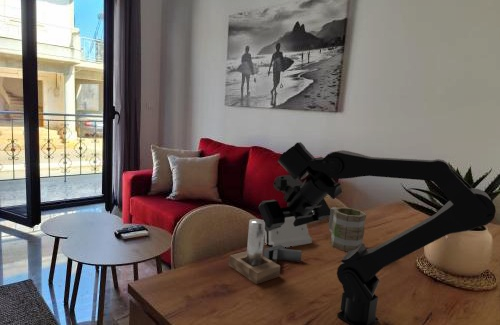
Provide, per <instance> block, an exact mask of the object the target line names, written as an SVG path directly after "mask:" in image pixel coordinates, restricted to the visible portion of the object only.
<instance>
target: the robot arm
mask: <svg viewBox="0 0 500 325" xmlns="http://www.w3.org/2000/svg"><path fill="white" fill-rule="evenodd" d="M277 162H278V163H279V165H280V166H281V167H283V169H284V170H285V172H287V173H288V174H285V175H279V176H277V177H276V178H275V179H274V181H273V183H272V185H273V187H274V189H275V190H276V191H277V192H282V193H283V194H284V196H283V197H282V198H283V200H284V201H285V203H287V204H286V207H281V206H280V204H279V201H278V200H275V199H270V200H262V201H261V202H260V203H259V205H258V210H259V211H258V212H259V214H260V216H261V218H262V220H264V222H265V231H266V232H268V231H271V230H274V229H277V228H280V227H281V225H283V224H284V223H285V218H290V217H295V221H294V223H293V224H294V226H295V227H296V226H300V225H304V224H307V225H308V224H312V223H315V222H319V221H322V220H326V219H328V218H330V210H331V208H330V207H329V205H328V203H327V201H326V200H325V198H326V196H329V197H330V198H331V199H333V200H335V199H336V198H338V197H339V196H340V195H341V194H343V189H342V187H341V183H340V182H336V181H335V180H345V179H355V178H361V177H380V178H388V179H389V178H392V179H403V180H417V181H430V182H433V184H434V185H435V186H436V187H437V188H438V189H439V190H440V191H441V192H442V193H443V195H444V196H445V197H446V198H447V199H448V201H447V202H446V203H445V204H444V205H443V206H442V207H441V208H440V209H438V211H437V212H436V213H435V214H433V215H430V216H429V217H426V219H424V220H422V221H420V222H419V223H417V224H415V225H413V226H411V227H409V228H408V229H406V230H404V231H402V232H400V233H399V234H396V235H395V236H393V237H391V238H388V240H385V241H384V242H383V243H380V244H378V245H377V246H374V247H370V248H366V246H365V244H364V243H362V244H361V245H360V246H359V247H358V248H357V249H355V250H350V251H347V253H346V254H345V255H344V256H343V258H342V259H341V260H340V262H341V263H340V264H339V266H338V267H337V269H336V275H337V279H338V282H339V283H340V284H341V286H342V288H343V292H342V293H341V300H340V309H339V310H340V311H339V312H337V313H336V317H337V318H339V319H341V320H343V321H344V322H346V323H347V324H349V325H376V324H377V323H379V322H380V319H379V318H378V317H376V314H377V306H378V300H379V296H377V294H375V293H376V291H377V288H378V286H379V283H380V282H381V281H380V278H378V276H377V274H378V273H379V272H380V271H381V270H382V269H384V268H385V267H387V266H389V265H391V264H393V263H395V262H397V261H399V260H401V259H402V258H404V257H406V256H409V255H411V254H413V253H414V252H416V251H419V250H420V249H422V248H424V247H427V246H428V245H430V244H432V243H434V242H436V241H438V240H440V239H441V238H443V237H446V236H447V235H448V236H449V235H451V234H458V233H464V232H468V231H472V230H474V229H475V230H476V229H477V228H480V227H484V226H487V225H489V224H490V223H492V222H493V220H494V219H495V217H496V211H497V210H496V205H495V204H494V202H493V200H492V199H491V197H490V196H489V194H488V193H487V192H485V191H484V190H482V189H480V188H473V187H472V186H471V185H470V184H469V183H468V182H467V181H466V180H465V179H463V177H462V176H460V174H458V173H457V172H456V171H455V170H454V169H452V168H451V166H450V164H449V163H448V162H447V161H445V160H444V159H440V158H439V159H437V158H436V159H431V160H430V159H416V158H415V159H413V158H397V157H396V158H395V157H393V158H392V157H376V156H375V157H374V156H370V155H365V154H362V153H359V152H358V153H357V152H354V151H349V150H342V149H341V150H337V151H331V152H329V153H328V154H326V156H324V157H322V156H318V157H315V156H314V155H313V154H311V152H310V151H309V150H308V149H307V148H306V147H305V145H304V144H303V143H302V142H299V141H298V142H296V143H295V144H294V145H293V146H291V147H290V148H288V149H287V150H286V151H284V152H283V153H281V155H280V156H279V158H278V159H277ZM306 177H307V178H306ZM305 178H306V179H305ZM304 179H305V180H304ZM302 180H304V181H302Z"/></svg>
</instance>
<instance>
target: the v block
mask: <svg viewBox="0 0 500 325" xmlns="http://www.w3.org/2000/svg"><path fill="white" fill-rule="evenodd" d="M302 255H303V251H302V250H300V249H299V250H298V249H292V248H291V249H289V248H285V247H284V246H282V245H277V246H273V245H272V246H270V247H266V248H264V250H263V256H264V257H266V258H267V259H269V260H271V261H273V262H274V263H276V264H278V263H277V261H278V260H281V261H282V260H283V261H291V262H298V263H301V262H302Z"/></svg>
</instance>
